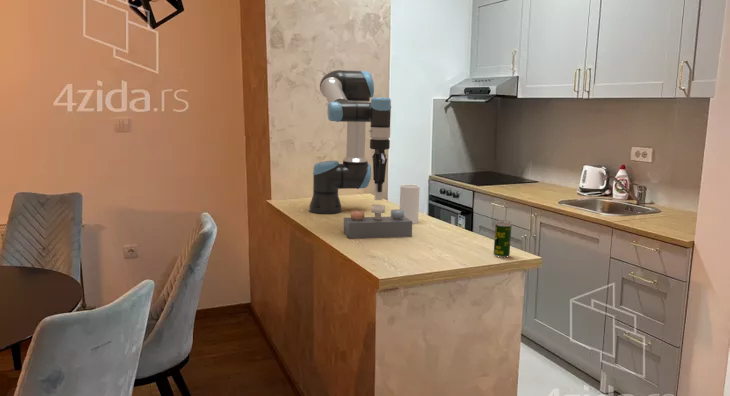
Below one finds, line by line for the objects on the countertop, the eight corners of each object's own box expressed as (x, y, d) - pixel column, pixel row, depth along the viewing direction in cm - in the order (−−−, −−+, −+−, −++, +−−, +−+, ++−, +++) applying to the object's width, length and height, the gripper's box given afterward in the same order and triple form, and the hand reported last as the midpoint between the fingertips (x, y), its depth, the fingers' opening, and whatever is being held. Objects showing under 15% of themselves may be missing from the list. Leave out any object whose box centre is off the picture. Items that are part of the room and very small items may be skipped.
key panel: (343, 232, 220) (343, 217, 219) (404, 230, 226) (404, 216, 225) (348, 238, 210) (348, 223, 209) (411, 236, 216) (412, 221, 215)
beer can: (497, 253, 195) (500, 219, 193) (512, 256, 192) (514, 221, 190) (490, 256, 191) (492, 221, 189) (505, 259, 188) (507, 224, 186)
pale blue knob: (389, 227, 222) (389, 209, 220) (401, 227, 223) (402, 209, 221) (392, 230, 217) (393, 212, 215) (405, 230, 218) (406, 211, 216)
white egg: (369, 223, 219) (370, 204, 218) (382, 222, 221) (382, 204, 219) (372, 226, 214) (373, 207, 213) (385, 225, 216) (386, 207, 214)
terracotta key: (349, 229, 218) (349, 210, 217) (362, 228, 219) (362, 210, 218) (352, 232, 213) (352, 213, 212) (365, 231, 214) (365, 212, 213)
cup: (417, 224, 238) (418, 187, 235) (397, 223, 240) (399, 186, 237) (419, 220, 246) (420, 184, 243) (400, 219, 248) (401, 183, 245)
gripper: (366, 137, 217) (365, 197, 221) (374, 139, 205) (373, 203, 209) (385, 137, 219) (383, 197, 223) (394, 139, 206) (392, 202, 210)
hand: (378, 199), depth 216 cm, fingers closed
